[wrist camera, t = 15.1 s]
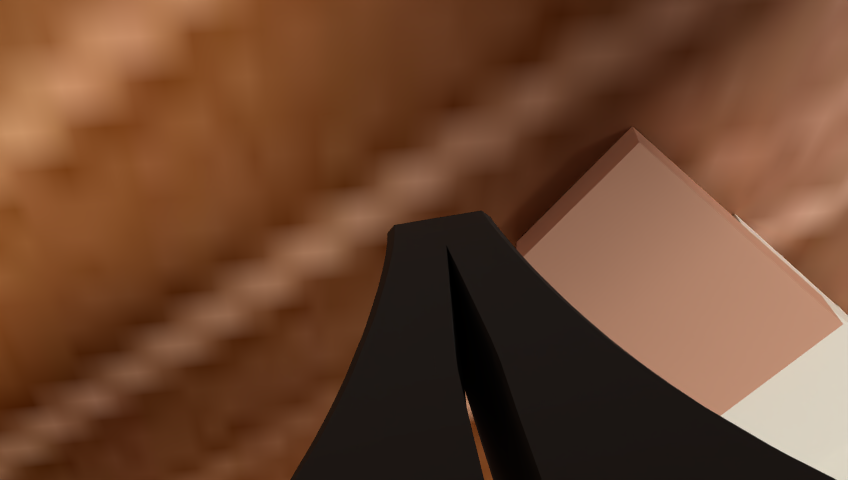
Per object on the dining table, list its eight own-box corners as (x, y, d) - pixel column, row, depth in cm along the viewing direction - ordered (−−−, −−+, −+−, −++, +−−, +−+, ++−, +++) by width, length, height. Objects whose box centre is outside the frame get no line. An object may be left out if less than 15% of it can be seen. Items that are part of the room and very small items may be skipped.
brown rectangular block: (514, 265, 22) (707, 425, 23) (639, 142, 20) (843, 323, 21) (516, 241, 23) (696, 392, 24) (632, 125, 21) (821, 295, 23)
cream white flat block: (627, 338, 24) (794, 478, 25) (749, 235, 22) (924, 392, 23) (621, 311, 26) (779, 444, 27) (734, 213, 24) (898, 361, 25)
